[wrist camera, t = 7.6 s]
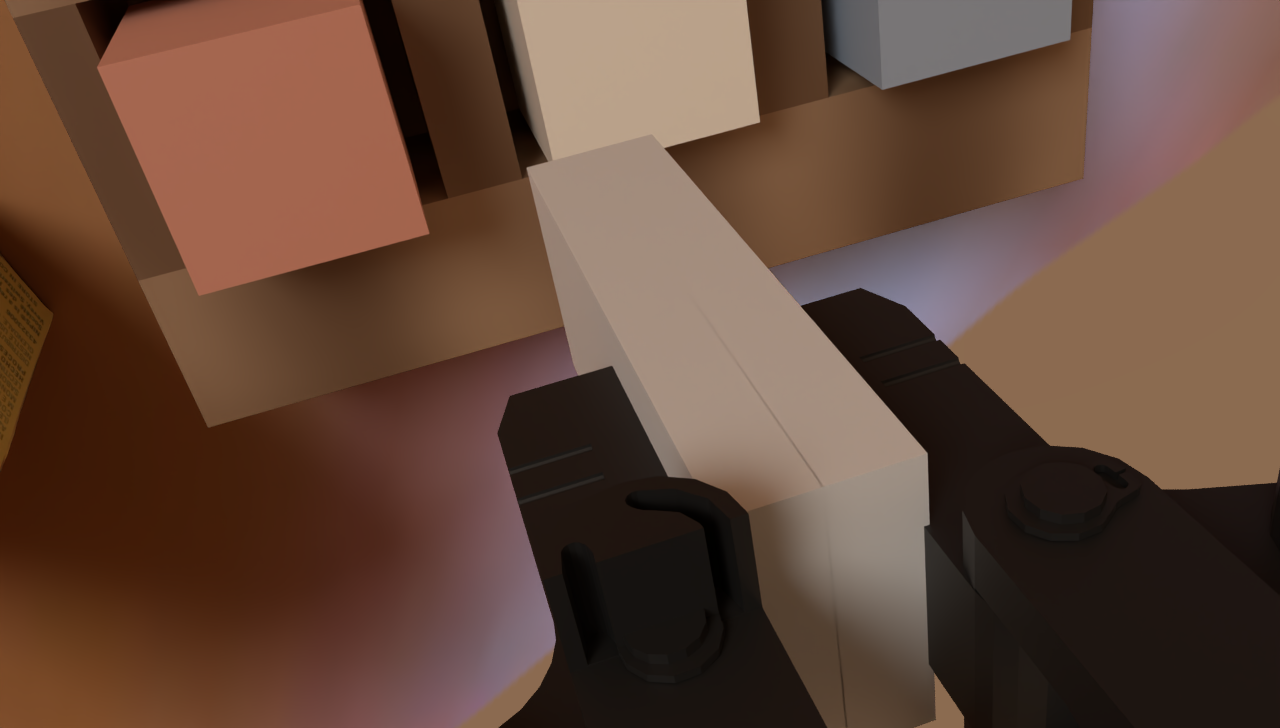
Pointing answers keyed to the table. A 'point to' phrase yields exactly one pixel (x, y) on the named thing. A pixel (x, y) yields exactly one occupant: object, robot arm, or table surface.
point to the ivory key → (629, 70)
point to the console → (503, 200)
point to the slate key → (936, 34)
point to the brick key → (263, 133)
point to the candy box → (17, 348)
